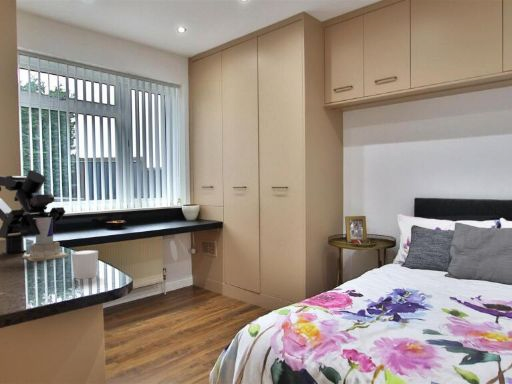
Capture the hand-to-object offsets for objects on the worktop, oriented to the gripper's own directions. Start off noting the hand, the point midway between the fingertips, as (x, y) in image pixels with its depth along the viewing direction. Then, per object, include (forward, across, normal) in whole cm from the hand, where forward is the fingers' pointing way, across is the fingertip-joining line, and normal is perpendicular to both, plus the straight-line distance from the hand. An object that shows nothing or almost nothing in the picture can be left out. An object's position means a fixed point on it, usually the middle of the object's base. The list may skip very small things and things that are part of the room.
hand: (46, 233), depth 128 cm
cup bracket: (+5, 0, +7) cm, 9 cm away
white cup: (+32, -10, -20) cm, 39 cm away
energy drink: (+4, 0, +6) cm, 7 cm away
